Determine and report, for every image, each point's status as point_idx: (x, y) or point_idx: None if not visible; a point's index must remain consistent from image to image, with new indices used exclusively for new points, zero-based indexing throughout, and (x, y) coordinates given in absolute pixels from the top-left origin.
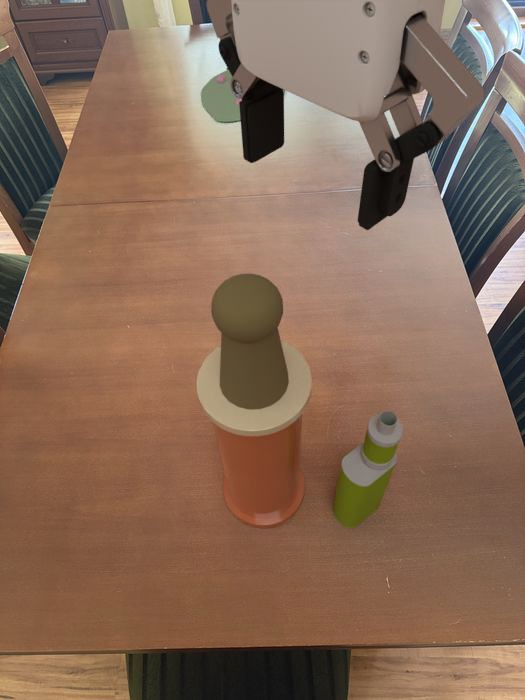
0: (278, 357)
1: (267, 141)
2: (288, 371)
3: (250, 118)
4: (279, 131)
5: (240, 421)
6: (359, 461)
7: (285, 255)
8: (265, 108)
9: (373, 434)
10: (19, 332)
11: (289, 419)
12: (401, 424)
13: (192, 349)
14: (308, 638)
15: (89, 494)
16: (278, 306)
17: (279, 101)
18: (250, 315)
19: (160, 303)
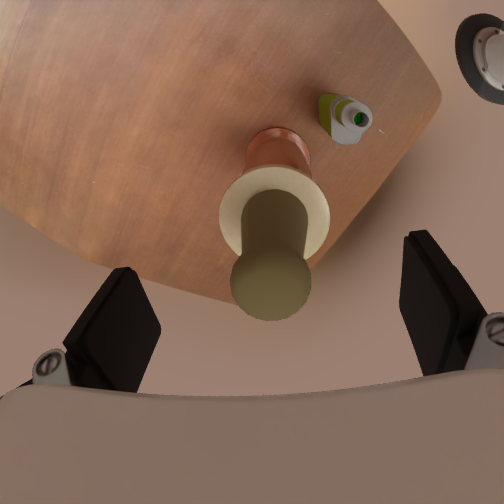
0: (301, 233)
1: (140, 318)
2: (286, 189)
3: (137, 389)
4: (126, 298)
5: (304, 252)
6: (341, 127)
7: (82, 31)
8: (118, 367)
9: (355, 130)
10: (75, 249)
11: (329, 219)
12: (363, 104)
13: (133, 145)
14: (373, 192)
15: (214, 256)
16: (301, 271)
17: (99, 339)
18: (299, 306)
19: (81, 151)
